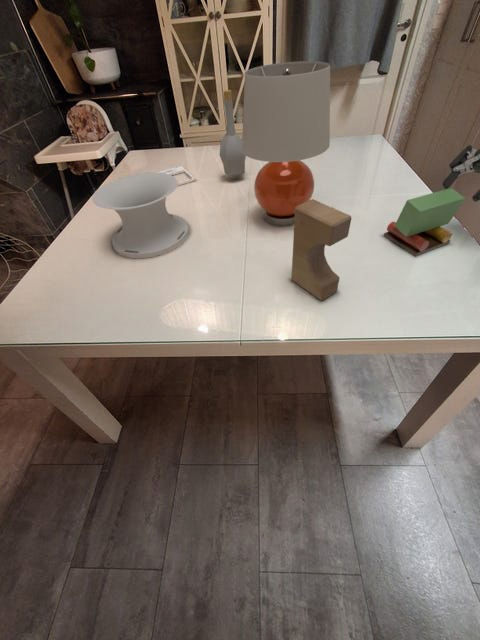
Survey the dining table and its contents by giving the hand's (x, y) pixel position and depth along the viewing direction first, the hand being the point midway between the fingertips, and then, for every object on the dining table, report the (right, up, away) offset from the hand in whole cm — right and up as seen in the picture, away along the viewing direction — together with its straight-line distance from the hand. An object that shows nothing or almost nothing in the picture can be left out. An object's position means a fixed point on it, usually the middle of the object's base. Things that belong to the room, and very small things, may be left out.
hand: (458, 193), depth 75 cm
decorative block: (-36, -23, +1) cm, 43 cm away
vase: (-84, -4, +24) cm, 88 cm away
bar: (-5, -6, +7) cm, 10 cm away
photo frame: (-85, +31, +57) cm, 107 cm away
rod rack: (-5, -9, +10) cm, 14 cm away
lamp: (-40, +3, +26) cm, 48 cm away
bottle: (-57, +28, +51) cm, 81 cm away
